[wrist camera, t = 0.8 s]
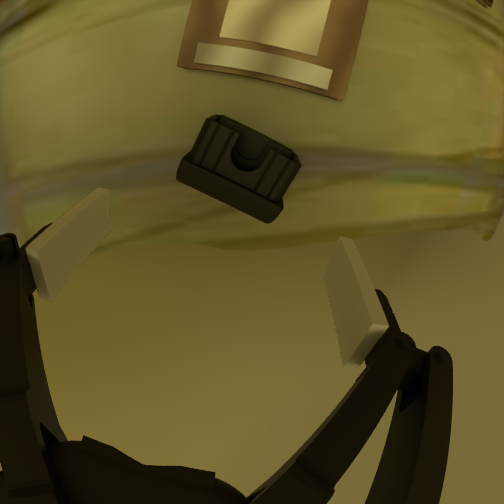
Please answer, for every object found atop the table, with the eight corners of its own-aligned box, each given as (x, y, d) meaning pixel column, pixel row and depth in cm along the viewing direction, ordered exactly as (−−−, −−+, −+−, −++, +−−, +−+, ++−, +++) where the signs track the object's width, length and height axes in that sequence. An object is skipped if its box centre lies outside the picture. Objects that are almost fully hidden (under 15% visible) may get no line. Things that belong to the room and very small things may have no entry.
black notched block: (187, 168, 31) (168, 188, 25) (214, 110, 27) (200, 117, 21) (267, 206, 33) (267, 235, 27) (299, 154, 29) (307, 171, 23)
